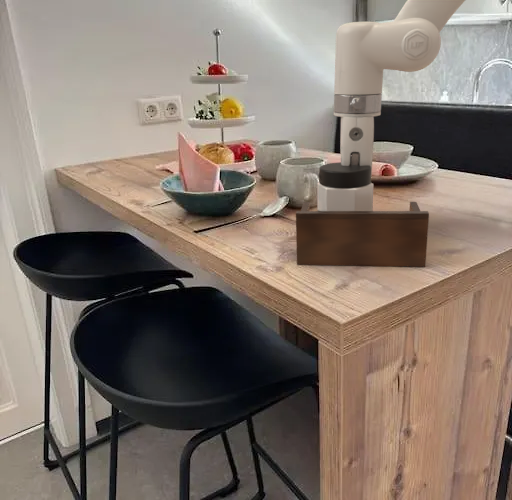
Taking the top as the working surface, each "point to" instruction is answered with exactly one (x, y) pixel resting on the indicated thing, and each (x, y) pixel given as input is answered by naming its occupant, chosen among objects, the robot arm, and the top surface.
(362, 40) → the robot arm
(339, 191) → the jar
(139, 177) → the top surface
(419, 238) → the brown wooden tray
